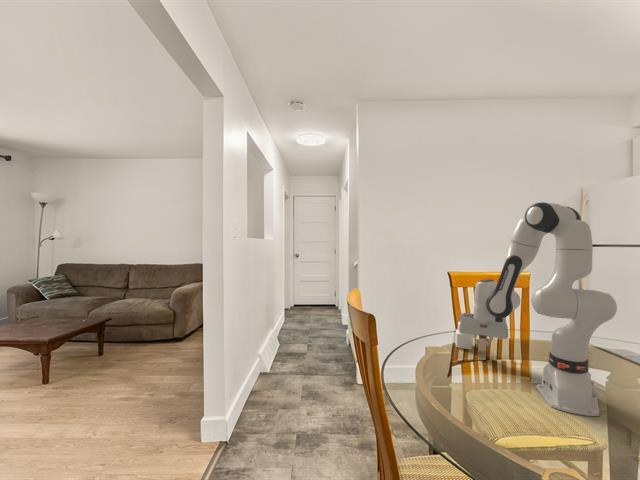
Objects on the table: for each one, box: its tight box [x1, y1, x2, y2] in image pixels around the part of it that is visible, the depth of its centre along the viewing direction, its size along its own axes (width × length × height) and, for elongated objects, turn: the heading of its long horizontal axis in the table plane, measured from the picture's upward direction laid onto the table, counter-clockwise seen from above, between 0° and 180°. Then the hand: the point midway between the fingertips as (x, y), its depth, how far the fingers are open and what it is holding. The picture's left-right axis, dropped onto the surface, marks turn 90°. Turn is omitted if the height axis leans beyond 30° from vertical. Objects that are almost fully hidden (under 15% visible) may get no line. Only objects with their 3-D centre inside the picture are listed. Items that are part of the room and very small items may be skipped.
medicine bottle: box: [455, 321, 474, 350], centre depth 181 cm, size 7×7×12 cm
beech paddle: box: [477, 324, 488, 360], centre depth 166 cm, size 6×3×16 cm, turn 157°
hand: (482, 345), depth 166 cm, fingers closed on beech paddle, 3 cm apart
